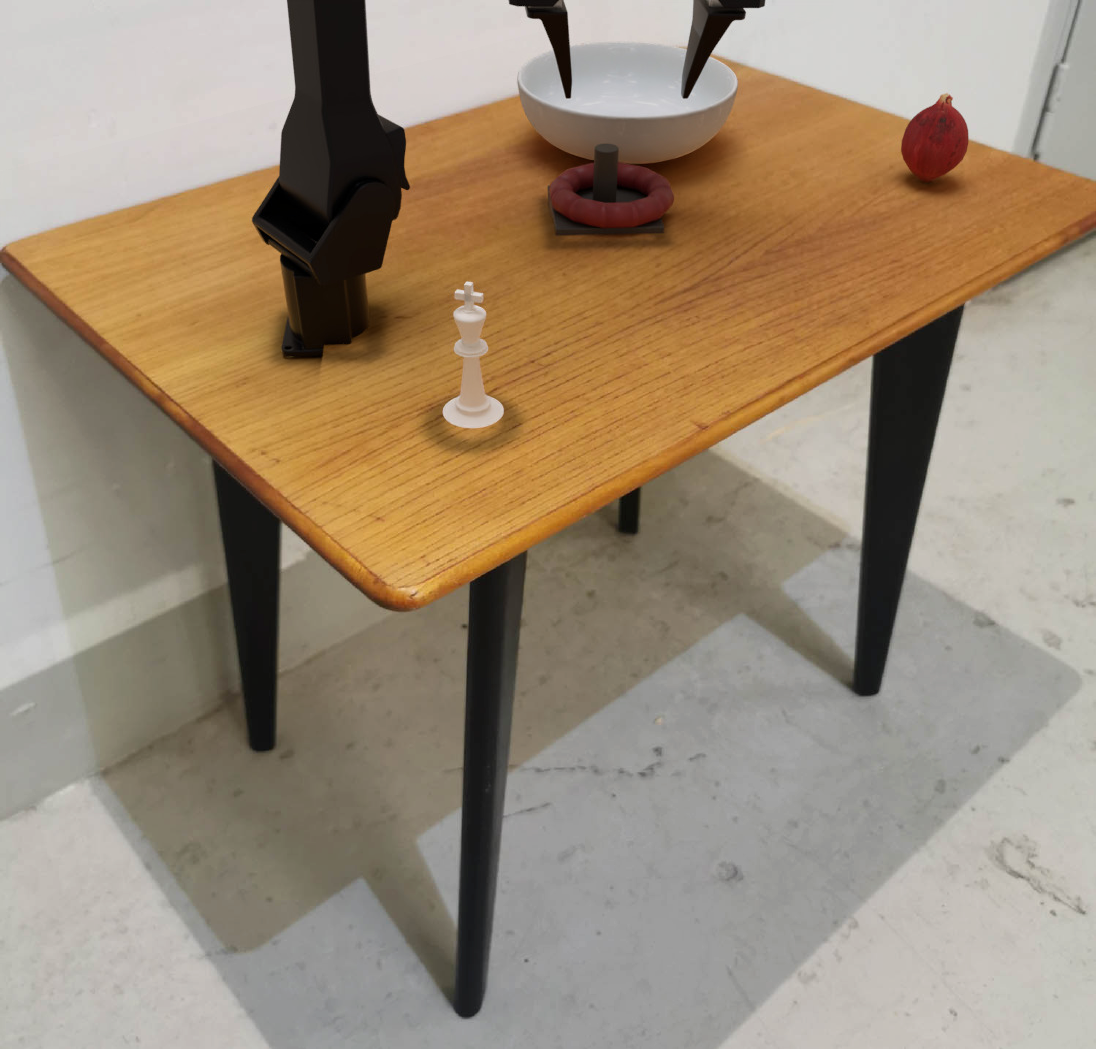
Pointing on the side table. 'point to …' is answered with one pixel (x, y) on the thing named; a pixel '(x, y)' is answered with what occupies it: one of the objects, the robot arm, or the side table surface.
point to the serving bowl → (626, 101)
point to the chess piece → (471, 367)
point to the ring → (612, 213)
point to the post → (603, 198)
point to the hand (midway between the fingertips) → (626, 97)
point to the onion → (935, 140)
